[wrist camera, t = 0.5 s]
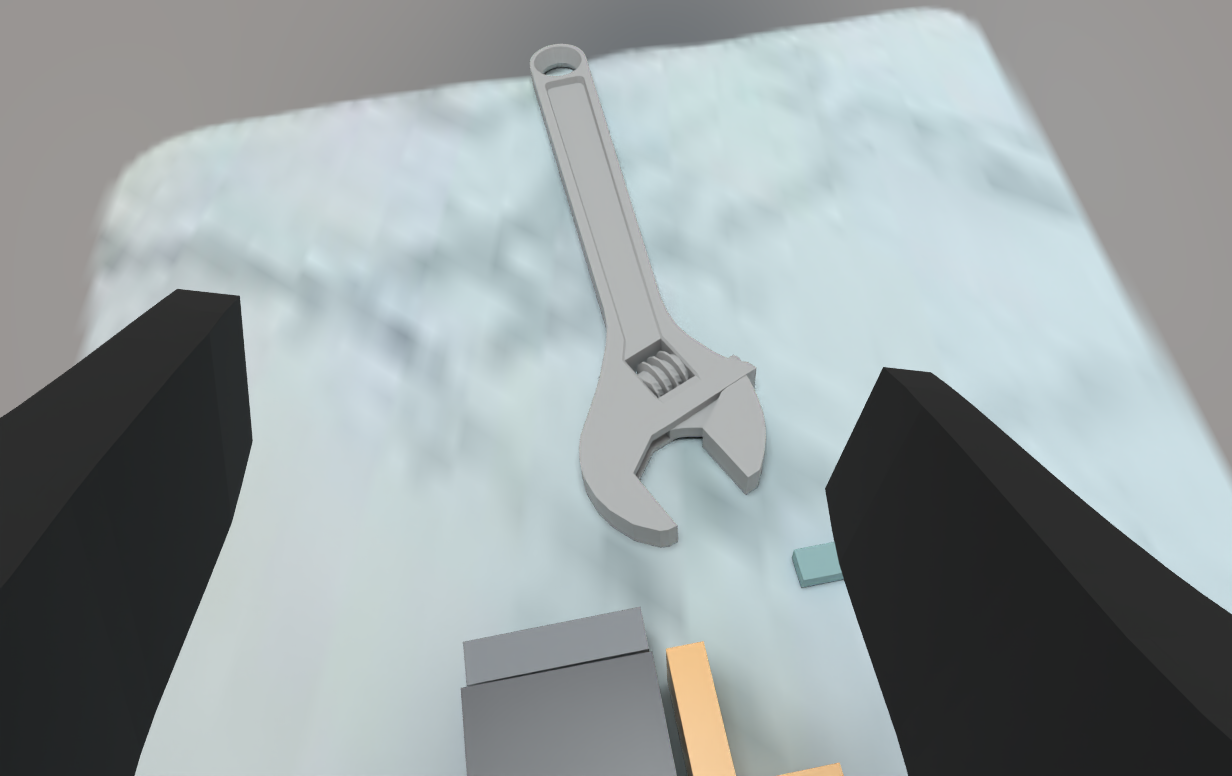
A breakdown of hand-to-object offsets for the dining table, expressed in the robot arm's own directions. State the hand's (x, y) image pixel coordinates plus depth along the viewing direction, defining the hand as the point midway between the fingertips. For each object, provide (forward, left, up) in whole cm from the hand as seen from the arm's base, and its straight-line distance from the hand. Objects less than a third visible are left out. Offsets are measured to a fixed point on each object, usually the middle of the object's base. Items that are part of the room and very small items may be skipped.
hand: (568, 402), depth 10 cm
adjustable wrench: (+18, -3, -18) cm, 26 cm away
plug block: (-1, +2, -18) cm, 18 cm away
